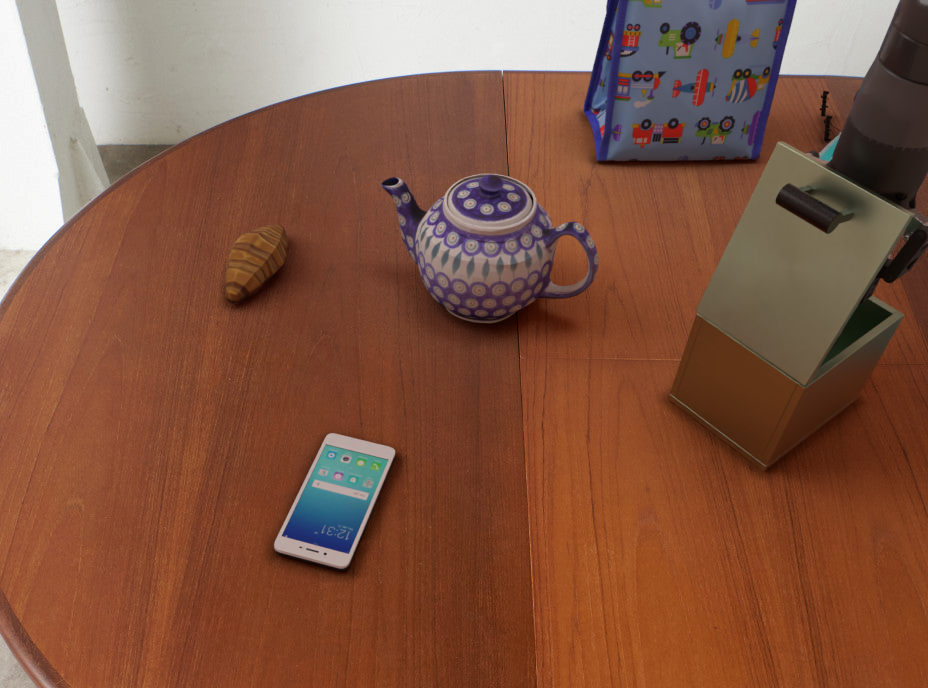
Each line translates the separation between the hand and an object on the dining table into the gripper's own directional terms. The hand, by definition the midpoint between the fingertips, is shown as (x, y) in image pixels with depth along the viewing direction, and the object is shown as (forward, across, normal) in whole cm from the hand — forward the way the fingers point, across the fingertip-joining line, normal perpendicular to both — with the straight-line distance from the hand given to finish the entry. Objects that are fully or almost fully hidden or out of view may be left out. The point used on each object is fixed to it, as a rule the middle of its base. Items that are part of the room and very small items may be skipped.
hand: (823, 283), depth 88 cm
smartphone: (+14, +17, +45) cm, 50 cm away
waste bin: (+14, 0, +2) cm, 15 cm away
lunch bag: (+15, +39, -27) cm, 50 cm away
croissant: (+14, +50, +32) cm, 61 cm away
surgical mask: (+15, +21, -42) cm, 49 cm away
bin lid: (-6, 0, +7) cm, 9 cm away
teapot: (+14, +31, +14) cm, 37 cm away
